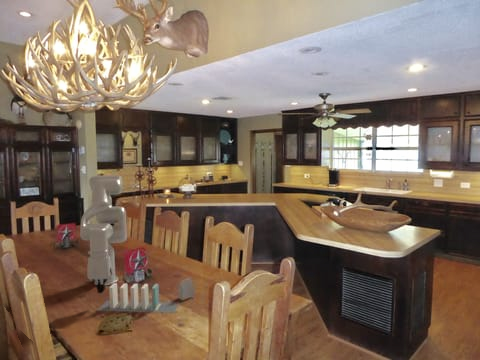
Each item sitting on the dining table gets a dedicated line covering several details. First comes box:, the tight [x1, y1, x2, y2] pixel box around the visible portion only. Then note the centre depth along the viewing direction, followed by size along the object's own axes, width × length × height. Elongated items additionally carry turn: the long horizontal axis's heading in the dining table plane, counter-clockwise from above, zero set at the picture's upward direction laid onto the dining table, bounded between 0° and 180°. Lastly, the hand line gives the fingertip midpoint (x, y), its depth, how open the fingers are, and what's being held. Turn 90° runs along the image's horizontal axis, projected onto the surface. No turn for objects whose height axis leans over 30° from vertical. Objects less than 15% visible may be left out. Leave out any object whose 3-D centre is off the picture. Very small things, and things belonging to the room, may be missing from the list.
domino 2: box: [119, 282, 129, 309], centre depth 155 cm, size 2×5×10 cm, turn 176°
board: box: [96, 300, 180, 314], centre depth 155 cm, size 36×10×1 cm, turn 86°
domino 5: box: [151, 283, 160, 309], centre depth 154 cm, size 2×5×10 cm, turn 176°
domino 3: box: [129, 283, 139, 309], centre depth 155 cm, size 2×5×10 cm, turn 176°
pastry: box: [98, 312, 137, 336], centre depth 141 cm, size 17×17×3 cm
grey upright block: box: [177, 277, 195, 301], centre depth 165 cm, size 4×7×10 cm, turn 132°
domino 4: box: [140, 283, 150, 309], centre depth 155 cm, size 2×5×10 cm, turn 176°
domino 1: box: [108, 282, 119, 308], centre depth 156 cm, size 2×5×10 cm, turn 176°
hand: (101, 291), depth 156 cm, fingers closed
